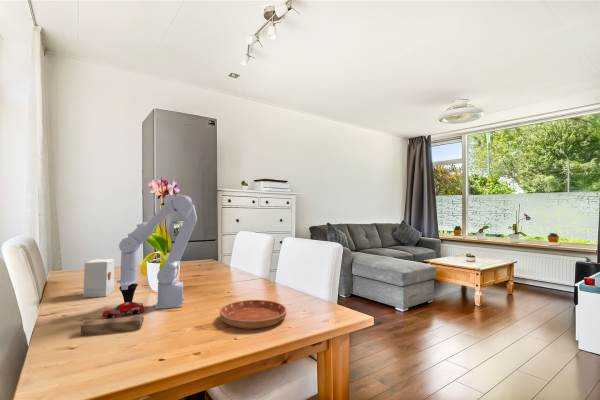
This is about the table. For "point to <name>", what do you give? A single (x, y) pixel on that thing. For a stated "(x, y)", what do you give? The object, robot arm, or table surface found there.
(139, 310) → the race car
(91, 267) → the supplement box
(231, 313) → the saucer
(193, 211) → the robot arm
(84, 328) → the chock stand
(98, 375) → the table surface
